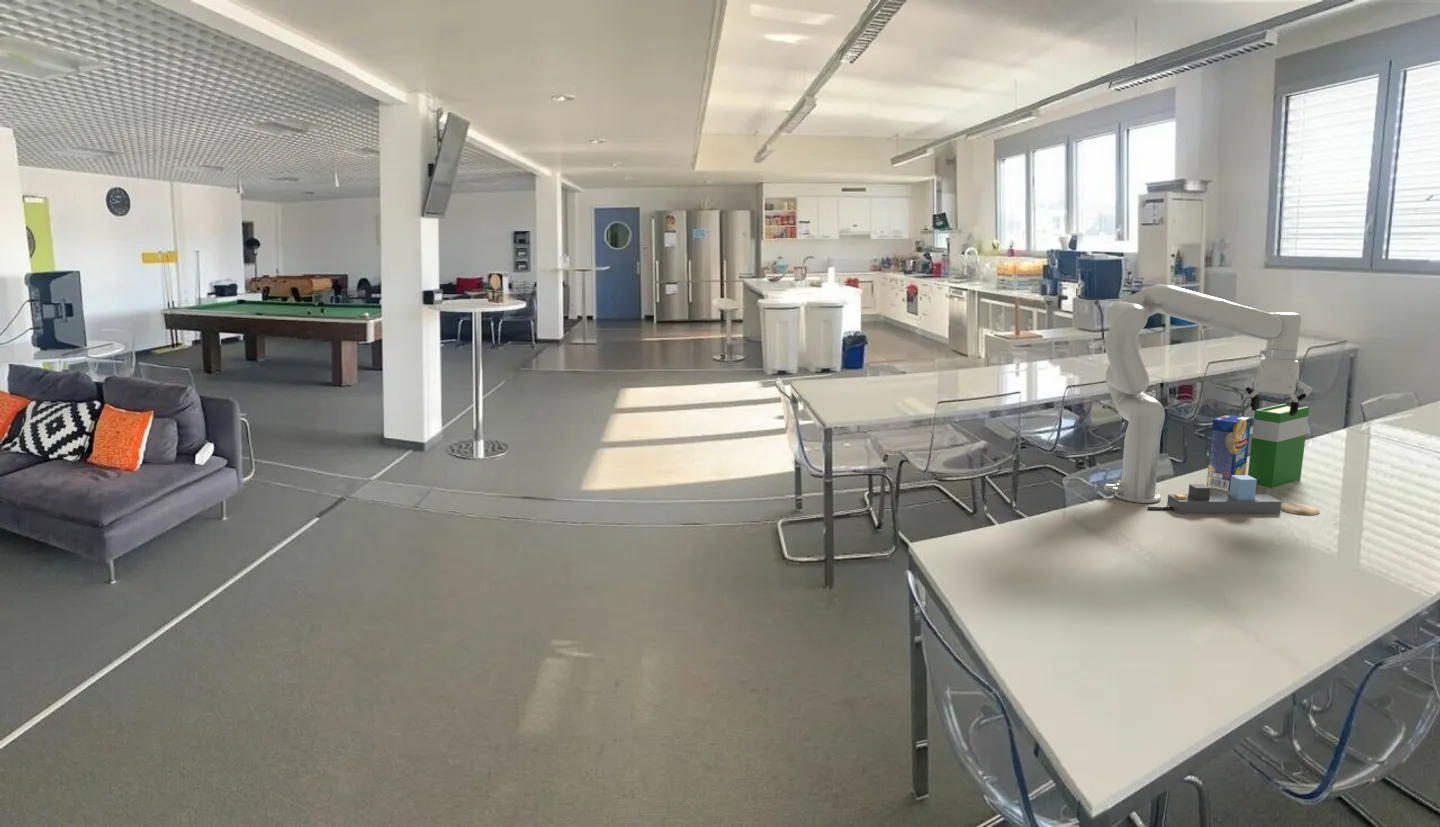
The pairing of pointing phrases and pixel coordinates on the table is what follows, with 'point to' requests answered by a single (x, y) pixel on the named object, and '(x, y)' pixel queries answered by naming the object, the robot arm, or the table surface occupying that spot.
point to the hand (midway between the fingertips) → (1273, 412)
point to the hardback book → (1277, 445)
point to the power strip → (1218, 502)
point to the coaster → (1299, 509)
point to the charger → (1242, 488)
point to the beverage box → (1228, 450)
